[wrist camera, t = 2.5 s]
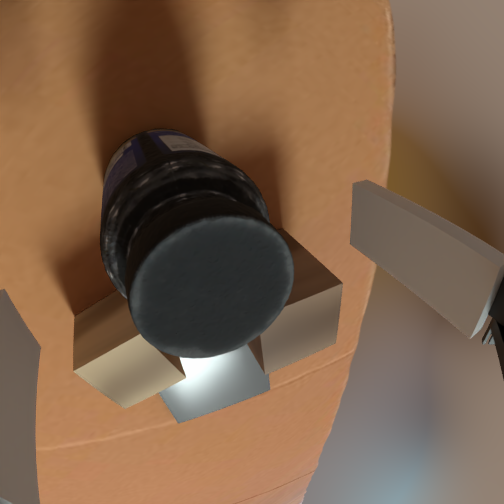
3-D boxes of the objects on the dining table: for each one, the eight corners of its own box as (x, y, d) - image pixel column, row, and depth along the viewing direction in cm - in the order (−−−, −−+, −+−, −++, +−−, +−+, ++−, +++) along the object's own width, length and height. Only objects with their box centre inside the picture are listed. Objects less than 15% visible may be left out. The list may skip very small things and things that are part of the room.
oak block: (74, 315, 19) (73, 371, 15) (132, 280, 19) (141, 333, 15) (116, 356, 22) (124, 408, 18) (169, 326, 22) (186, 377, 18)
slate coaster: (141, 358, 23) (143, 366, 22) (259, 318, 25) (263, 324, 25) (176, 417, 28) (178, 423, 27) (266, 384, 31) (270, 389, 30)
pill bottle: (133, 246, 18) (168, 399, 10) (85, 158, 15) (47, 266, 6) (223, 201, 19) (328, 314, 11) (188, 108, 16) (293, 143, 7)
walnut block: (213, 249, 21) (258, 317, 15) (282, 228, 22) (343, 283, 17) (225, 305, 23) (265, 374, 18) (285, 284, 25) (335, 343, 19)
